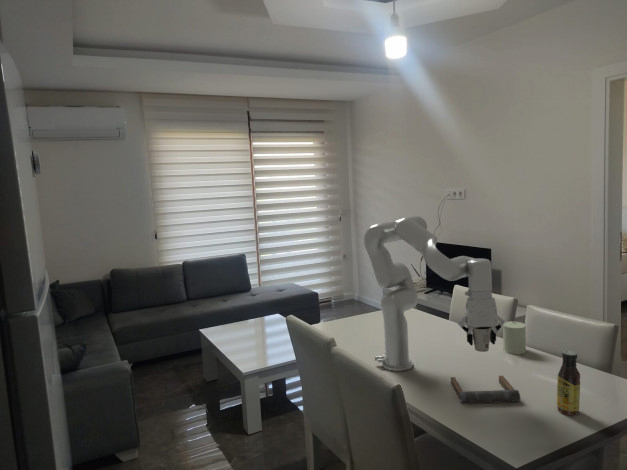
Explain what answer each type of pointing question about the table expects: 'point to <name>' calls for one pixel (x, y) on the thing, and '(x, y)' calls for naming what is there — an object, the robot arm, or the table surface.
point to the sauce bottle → (568, 385)
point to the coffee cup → (481, 338)
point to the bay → (487, 393)
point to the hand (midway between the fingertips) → (481, 343)
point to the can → (514, 337)
